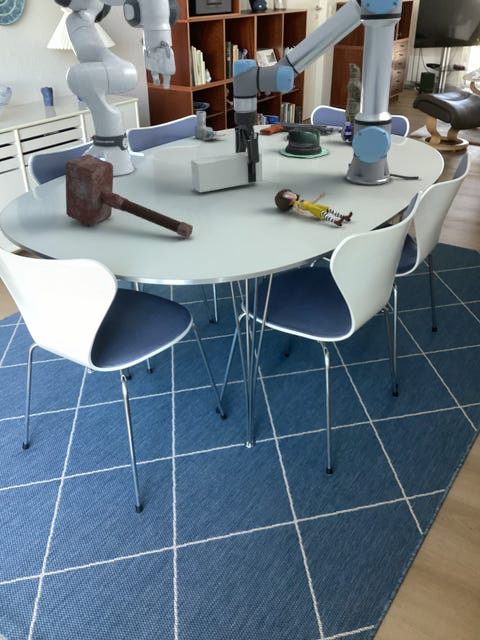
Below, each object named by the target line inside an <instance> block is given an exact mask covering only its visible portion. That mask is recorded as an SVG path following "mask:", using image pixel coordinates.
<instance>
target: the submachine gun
mask: <svg viewBox="0 0 480 640" xmlns="http://www.w3.org/2000/svg"><path fill="white" fill-rule="evenodd" d="M298 128H311V129H316V130H318V131H319V132H320V133H321V135H322V136H329V135H331V134H333V133H334V131H335V129H334V128H333V127H329V128H328V125H321V124H310V123H298V122H287V121H286V122H285V121H276V122H275V121H274V122H273V124H270V126H269V127H265V128H261V129H260V130H259V134H261V135H265V136H266V135H267V136H270V135H272V134H274V133H278V132H289V131H291V130H294V129H298ZM286 140H289V133H288V134H287V135H286Z"/></svg>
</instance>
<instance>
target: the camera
mask: <svg viewBox="0 0 480 640" xmlns="http://www.w3.org/2000/svg"><path fill="white" fill-rule="evenodd" d="M206 118H207V112H206V111H205V110H198V111H196V119H197V125H195V126H194V128H193V129H194V138H195V139H198V140H203V141H208V140H213V139H216V138H222V137H225V136H227V134H226V133H223V134H218V132H217V131H215V130H213V128H212V127H211V126H206Z"/></svg>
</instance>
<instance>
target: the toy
mask: <svg viewBox="0 0 480 640" xmlns="http://www.w3.org/2000/svg"><path fill="white" fill-rule="evenodd" d="M338 134H340V137H341V139H342V141H343V142H346V141H348V142H349V143H352V142H353V138H354V127H352V124H350V122H346V121H345V122H344V123H343V126H342V128H341V129H339V130H338Z"/></svg>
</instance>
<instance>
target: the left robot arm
mask: <svg viewBox="0 0 480 640" xmlns="http://www.w3.org/2000/svg"><path fill="white" fill-rule="evenodd" d="M53 1H54V3H55V4H57V5H58V6H59V7H62V8H64V9H68V10H70V11H71V12H70V13H69V14H68V15H67V17H66V18H65V23H64V25H65V30H66V35H67V38H68V41H69V44H70V45H71V48H72V51H73V52H74V54H75V57H76V59H77V61H78V62H79V63H78V64H77V63H76V64H74V65H70V67H68V70H67V72H66V78H65V79H66V84H67V87H68V89H69V90H70V92H71V93H72V94H74V96H76V97H78V98H79V99H80V100H82V101H83V103H85V105H86V106H87V108H88V109H89V111H90V114H91V117H92V122H93V127H94V133H95V134H93V135H92V136H90V137H89V141H92V145H91V146H90V147H88V148H87V149H86V150H85V151H84V152H83V153H81V156H80V157H82V156H84V155H87V154H89V155H91V156H94V157H96V158H99V159H101V160H104V161H107V162H109V163H111V164H112V165H113V177H116V176H124V175H128V174H130V173H133V172H134V171H135V168H134V165H133V164H132V160H131V156H130V155H134V156H140V157H144V153H142V152H134V151H129V142H128V135H127V132H126V126H125V119H124V118H125V117H124V112H123V111H122V110H121V108H120V107H118V106H116V105H114V104H112V103H109V102H108V101H107V98H106V95H107V96H108V95H116V94H124V93H128V92H131V91H133V90H135V89H136V87H137V85H138V83H139V73H138V70H137V68H136V66H135V65H134V64H133V63H132V62H131V61H129V60H126V59H123V58H121V57H119V56H118V55H116V54H115V53H113V52H112V51H111V50H110V49H109V48H108V47H107V46H106V44H105V43H104V41H103V39H102V37H101V35H100V33H99V31H98V29H97V27H96V25H95V24H99V23H100V22H102V20H103V19H105V18H106V17H107V16H108V15H109V13H110V12H111V10H112V7H121V6H122V7H123V15H124V20H125V21H126V23H127V24H128V25H129V26H130V27H132V28H134V29H142V36H141V38H140V45H141V46H142V53H143V59H144V65H145V68H146V70H148V71H150V73H151V77H152V80H153V85H154V86H156V87H157V86H161V80H160V77H159V74H162V78H163V82H162V89H164V90H170V83H171V76H172V75H175V74H176V61H175V54H174V51H173V48H172V46H173V41H172V40H173V39H172V28H173V27H174V26H175V25H176V24H177V22H178V20H179V17H180V14H181V13H180V11H181V10H180V6H179V2H178V1H177V0H53Z"/></svg>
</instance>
